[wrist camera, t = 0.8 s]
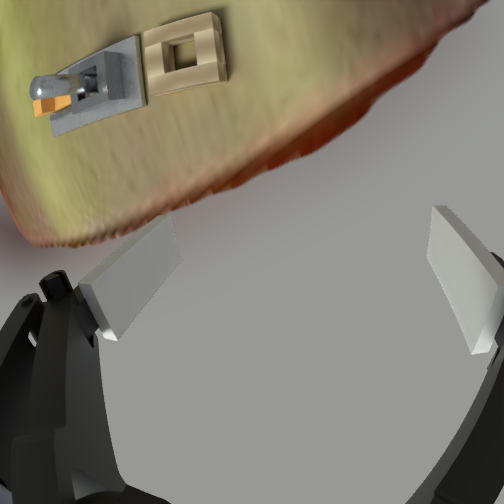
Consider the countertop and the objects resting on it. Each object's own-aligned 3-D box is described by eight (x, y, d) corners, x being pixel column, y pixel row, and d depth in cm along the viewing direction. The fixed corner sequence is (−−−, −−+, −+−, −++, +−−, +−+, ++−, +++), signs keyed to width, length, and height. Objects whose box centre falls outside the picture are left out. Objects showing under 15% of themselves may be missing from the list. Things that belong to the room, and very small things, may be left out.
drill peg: (95, 76, 35) (28, 81, 23) (109, 70, 35) (42, 72, 23) (97, 94, 37) (30, 103, 25) (111, 88, 36) (43, 95, 24)
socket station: (50, 80, 38) (30, 82, 33) (139, 36, 32) (118, 31, 28) (57, 136, 43) (37, 142, 39) (146, 105, 38) (126, 108, 33)
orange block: (53, 98, 38) (33, 101, 34) (81, 83, 36) (60, 85, 32) (54, 113, 40) (35, 117, 35) (82, 99, 38) (62, 102, 33)
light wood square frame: (156, 35, 32) (143, 32, 29) (220, 18, 30) (211, 11, 27) (162, 95, 37) (150, 95, 34) (227, 82, 34) (219, 80, 31)
